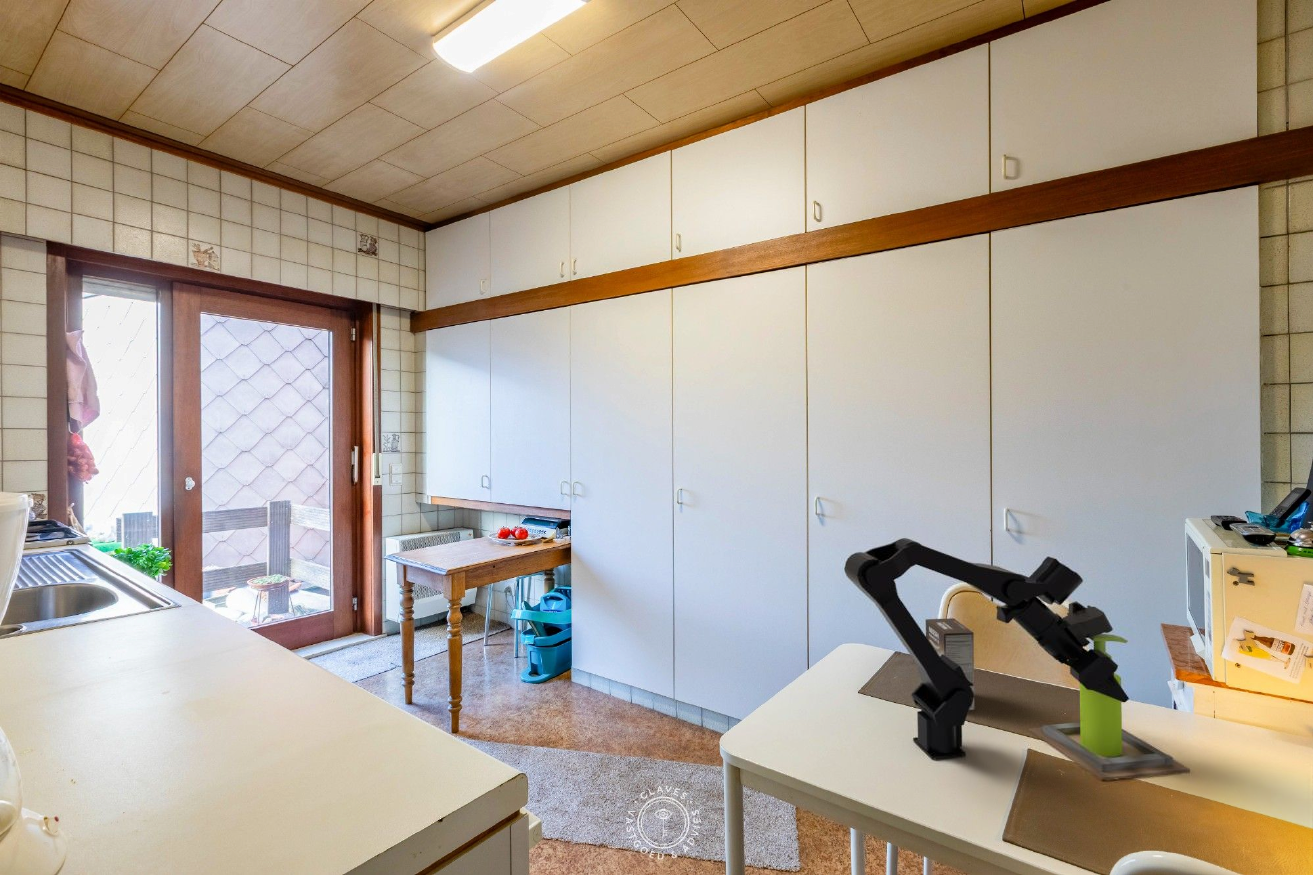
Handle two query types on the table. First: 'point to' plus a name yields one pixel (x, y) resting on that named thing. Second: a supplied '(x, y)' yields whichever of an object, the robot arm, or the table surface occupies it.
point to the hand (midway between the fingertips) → (1112, 688)
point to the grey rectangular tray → (1131, 764)
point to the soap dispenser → (1101, 713)
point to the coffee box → (953, 644)
